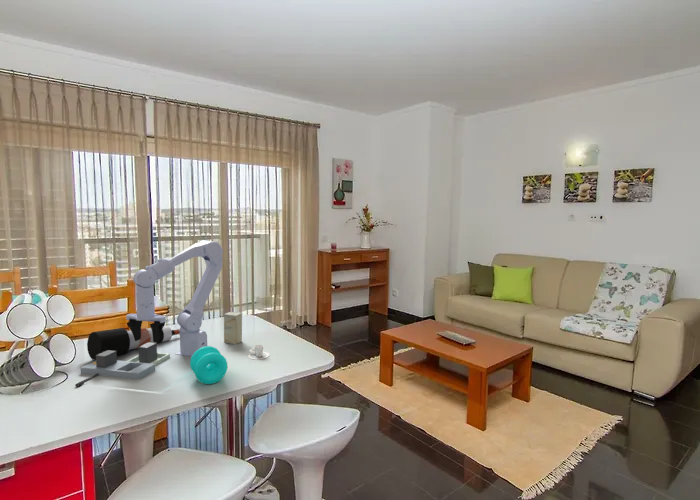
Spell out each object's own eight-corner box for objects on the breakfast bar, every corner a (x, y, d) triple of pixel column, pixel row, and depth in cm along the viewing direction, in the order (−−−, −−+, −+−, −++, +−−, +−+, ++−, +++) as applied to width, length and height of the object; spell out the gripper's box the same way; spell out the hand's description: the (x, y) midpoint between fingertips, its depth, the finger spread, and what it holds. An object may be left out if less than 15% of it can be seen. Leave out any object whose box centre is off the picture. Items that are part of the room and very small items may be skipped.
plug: (157, 359, 146) (156, 343, 146) (147, 364, 141) (146, 347, 141) (148, 358, 147) (148, 342, 146) (139, 363, 142) (138, 347, 142)
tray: (170, 358, 148) (169, 353, 148) (151, 369, 138) (150, 364, 138) (145, 356, 150) (145, 351, 150) (125, 366, 140) (125, 361, 140)
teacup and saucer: (247, 353, 155) (246, 343, 155) (268, 351, 158) (267, 341, 157) (248, 361, 147) (248, 350, 146) (270, 359, 149) (270, 348, 149)
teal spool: (220, 370, 138) (219, 342, 136) (228, 381, 129) (228, 351, 128) (189, 377, 132) (188, 348, 131) (196, 388, 124) (195, 357, 123)
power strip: (155, 370, 137) (154, 352, 136) (119, 391, 121) (118, 371, 121) (100, 365, 141) (99, 347, 141) (59, 385, 126) (57, 365, 125)
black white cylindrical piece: (181, 348, 172) (189, 329, 169) (96, 366, 143) (104, 343, 140) (169, 333, 176) (176, 315, 174) (84, 348, 148) (92, 326, 145)
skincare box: (223, 342, 166) (222, 314, 164) (230, 339, 170) (229, 311, 169) (236, 344, 164) (235, 315, 162) (242, 341, 168) (242, 312, 166)
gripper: (119, 305, 140) (121, 342, 141) (155, 307, 137) (157, 346, 138) (133, 300, 146) (135, 336, 148) (169, 302, 144) (170, 339, 145)
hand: (147, 340), depth 143 cm, fingers open, 7 cm apart
